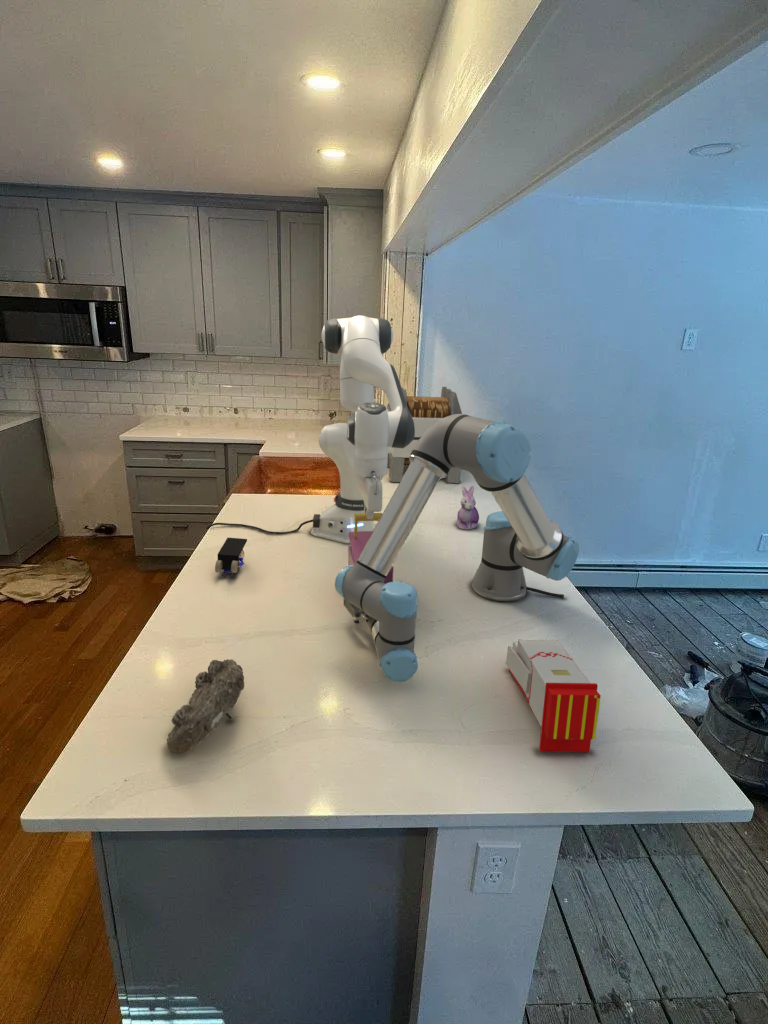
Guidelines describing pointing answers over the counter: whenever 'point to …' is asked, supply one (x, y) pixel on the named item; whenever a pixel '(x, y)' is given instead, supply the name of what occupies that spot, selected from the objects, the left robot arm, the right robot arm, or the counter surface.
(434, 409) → the transformer
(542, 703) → the toy
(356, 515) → the lid
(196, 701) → the fossil
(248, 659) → the counter surface
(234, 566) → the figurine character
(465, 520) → the figurine
